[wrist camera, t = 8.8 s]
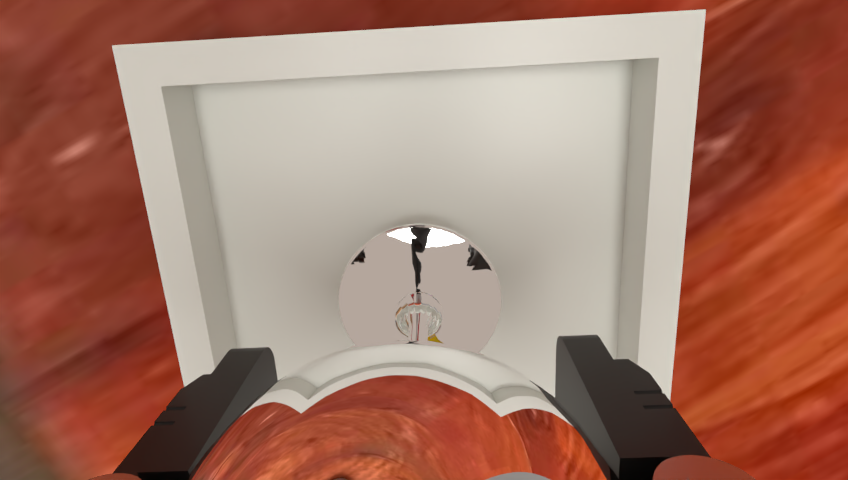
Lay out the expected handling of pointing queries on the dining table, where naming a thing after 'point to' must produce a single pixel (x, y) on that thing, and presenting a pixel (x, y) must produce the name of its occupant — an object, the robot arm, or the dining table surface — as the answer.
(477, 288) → the wineglass
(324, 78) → the tray
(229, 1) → the dining table surface
